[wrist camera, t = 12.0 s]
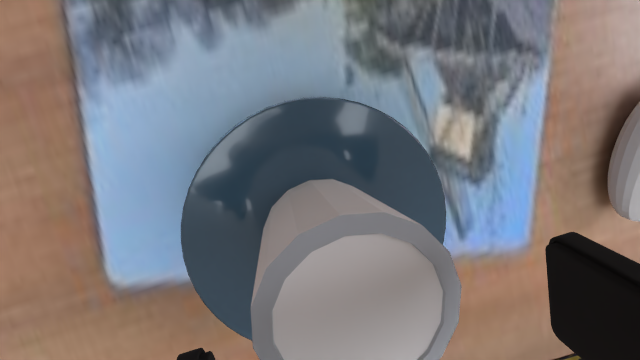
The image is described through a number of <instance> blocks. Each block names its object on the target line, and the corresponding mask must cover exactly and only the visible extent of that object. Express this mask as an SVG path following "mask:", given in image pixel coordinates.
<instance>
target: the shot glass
mask: <svg viewBox="0 0 640 360" xmlns="http://www.w3.org/2000/svg"><path fill="white" fill-rule="evenodd" d="M460 298H461V283H460V280H459V277H458V275H457V272H456V269H455V266H454V263H453V260H452V258H451V255H450V252H449V251H448V250H447V249H446V248H445V247H444V246H443V245H442V244H441V243H440V242H439V241H438V240H437V239H436V238H435V237H434V236H433V235H432V234H431V233H430V232H429V231H428V230H427V229H426V228H425V227H424V226H423V225H421V224H419V223H417V222H416V221H414V220H412V219H410V218H408V217H407V216H405V215H403V214H401V213H400V212H398V211H396V210H394V209H392V208H391V207H389V206H387V205H385V204H384V203H382V202H380V201H378V200H376V199H375V198H373V197H371V196H369V195H368V194H366V193H364V192H362V191H360V190H359V189H357V188H355V187H353V186H351V185H348V184H345V183H342V182H339V181H337V180H334V179H324V180H309V181H307V182H304V183H302V184H300V185H298V186H296V187H294V188H291V189H289V190H288V191H287V192H286V193H285V194H284V195H283V196H282V197H281V198H280V199H279V200H278V201H277V202H276V203H275V204H274V205H273V206H272V207H271V210H270V213H269V215H268V218H267V220H266V223H265V226H264V228H263V234H262V240H261V246H260V253H259V259H258V265H257V271H256V278H255V284H254V290H253V296H252V302H251V323H252V340H253V349H254V350H255V352H256V354H257V355H258V357H259V359H260V360H439V359H440V358H441V357H442V355H443V353H444V351H445V349H446V347H447V345H448V343H449V341H450V339H451V337H452V335H453V333H454V331H455V328H456V326H457V324H458V322H459V310H460Z"/></svg>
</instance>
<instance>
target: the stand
mask: <svg viewBox="0 0 640 360" xmlns="http://www.w3.org/2000/svg"><path fill="white" fill-rule="evenodd" d="M324 179H334V180H337V181H339V182H342V183H345V184H348V185H351V186H353V187H355V188H357V189H359V190H360V191H362V192H364V193H366V194H368V195H369V196H371V197H373V198H375V199H376V200H378V201H380V202H382V203H384V204H385V205H387V206H389V207H391V208H392V209H394V210H396V211H398V212H400V213H401V214H403V215H405V216H407V217H408V218H410V219H412V220H414V221H416V222H417V223H419V224H421V225H423V226H424V227H425V228H426V229H427V230H428V231H429V232H430V233H431V234H432V235H433V236H434V237H435V238H436V239H437V240H438V241H439V242H440V243H441V244H442V245H443V241H444V235H445V229H446V208H445V197H444V193H443V189H442V185H441V181H440V178H439V176H438V173H437V170H436V168H435V166H434V164H433V162H432V160H431V158H430V157H429V155H428V153H427V151H426V150H425V149H424V148H423V146H422V145H421V144H420V142H419V141H418V140H417V139H416V138H415V137H414V136H413V135H412V134H411V133H410V132H409V131H408V130H407V129H406V128H405V127H404V126H403V125H401V124H400V123H399V122H397V121H396V120H395V119H393V118H392V117H390V116H388V115H386V114H385V113H383V112H381V111H379V110H377V109H375V108H372V107H370V106H367V105H364V104H361V103H358V102H354V101H349V100H345V99H339V98H327V97H311V98H300V99H294V100H289V101H284V102H281V103H278V104H275V105H272V106H269V107H266V108H264V109H262V110H260V111H258V112H256V113H254V114H252V115H250V116H249V117H247V118H246V119H244V120H243V121H241V122H240V123H238V124H237V125H235V126H234V127H233V128H232V129H231V130H230V131H228V132H227V133H226V134H225V135H224V136H223V137H222V138H221V139H220V140H219V141H218V142H217V143H216V144H215V146H214V147H213V148H212V149H211V150H210V151H209V153H208V154H207V156H206V157H205V159H204V161H203V162H202V164H201V165H200V167H199V168H198V170H197V172H196V174H195V176H194V178H193V180H192V183H191V185H190V187H189V189H188V193H187V196H186V200H185V203H184V207H183V213H182V220H181V245H182V252H183V259H184V262H185V265H186V269H187V272H188V275H189V277H190V279H191V282H192V284H193V286H194V288H195V290H196V292H197V293H198V295H199V296H200V298H201V299H202V301H203V302H204V304H205V305H206V306H207V307H208V308H209V309H210V311H211V312H212V313H213V314H214V315H215V316H216V317H217V318H218V319H219V320H220V321H222V322H223V323H224V324H225V325H226V326H227V327H229V328H230V329H232V330H233V331H235V332H236V333H238V334H240V335H241V336H243V337H245V338H247V339H249V340H251V341H253V340H252V323H251V302H252V296H253V290H254V284H255V278H256V271H257V265H258V259H259V253H260V246H261V240H262V234H263V228H264V226H265V223H266V220H267V218H268V215H269V213H270V210H271V207H272V206H273V205H274V204H275V203H276V202H277V201H278V200H279V199H280V198H281V197H282V196H283V195H284V194H285V193H286V192H287V191H288V190H289V189H291V188H294V187H296V186H298V185H300V184H302V183H304V182H307V181H309V180H324Z"/></svg>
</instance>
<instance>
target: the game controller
mask: <svg viewBox="0 0 640 360" xmlns="http://www.w3.org/2000/svg"><path fill="white" fill-rule="evenodd" d="M608 194H609V198H610V202H611V204H612V206H613V208H614V209H615V211H616V212H617V213H618V214H619V215H621V216H622V217H625V218H627V219H629V220H632V221H639V222H640V101H639V103H638V104H637V105H636V107H635V108H634V109H633V111H632V112H631V114H630V115H629V117H628V118H627V120H626V122H625V124H624V126H623V127H622V129H621V131H620V134H619V136H618V138H617V141H616V143H615V146H614V149H613V152H612V156H611V160H610V164H609V171H608Z"/></svg>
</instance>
